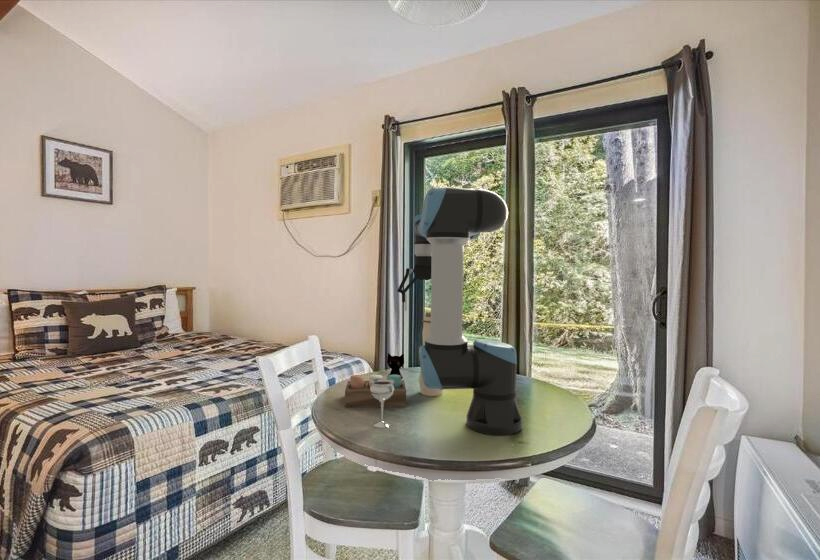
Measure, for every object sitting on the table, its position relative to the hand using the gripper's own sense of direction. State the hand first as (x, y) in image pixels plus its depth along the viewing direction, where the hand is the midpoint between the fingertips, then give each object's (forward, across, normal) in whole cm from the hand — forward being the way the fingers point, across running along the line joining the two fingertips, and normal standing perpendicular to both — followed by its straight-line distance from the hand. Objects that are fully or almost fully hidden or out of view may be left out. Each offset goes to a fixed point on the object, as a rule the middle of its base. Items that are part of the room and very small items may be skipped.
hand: (423, 311), depth 164 cm
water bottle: (+27, -4, +16) cm, 32 cm away
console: (+27, +15, +26) cm, 40 cm away
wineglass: (+27, +10, +47) cm, 55 cm away
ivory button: (+24, +15, +26) cm, 39 cm away
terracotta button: (+24, +21, +27) cm, 42 cm away
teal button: (+24, +9, +26) cm, 36 cm away
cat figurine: (+27, +10, +8) cm, 30 cm away
